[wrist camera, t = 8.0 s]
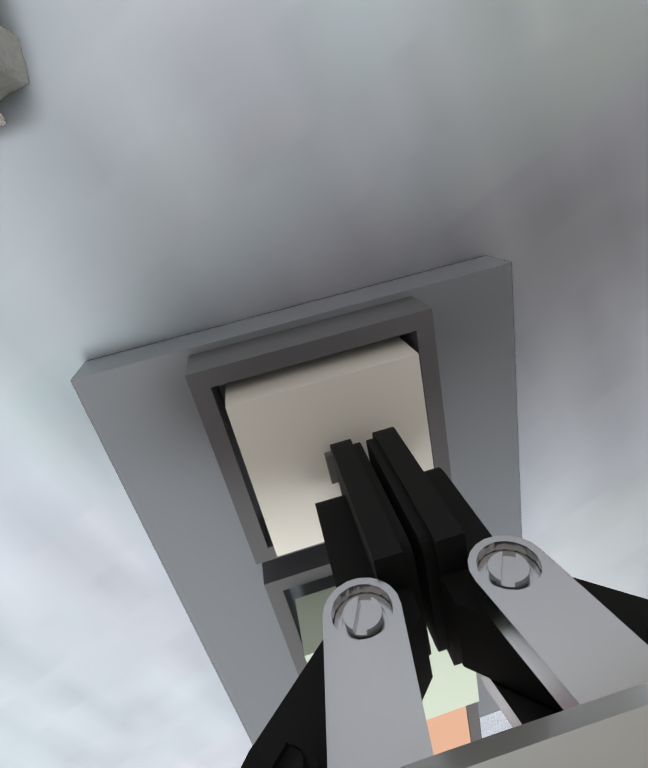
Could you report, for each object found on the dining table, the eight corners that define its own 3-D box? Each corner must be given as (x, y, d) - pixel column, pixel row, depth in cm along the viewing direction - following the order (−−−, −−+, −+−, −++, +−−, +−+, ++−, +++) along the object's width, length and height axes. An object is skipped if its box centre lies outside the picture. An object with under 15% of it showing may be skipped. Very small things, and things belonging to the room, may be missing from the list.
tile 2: (439, 552, 15) (471, 606, 13) (452, 647, 17) (482, 706, 15) (295, 598, 15) (305, 662, 13) (326, 691, 17) (340, 758, 15)
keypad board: (485, 255, 15) (543, 270, 12) (510, 671, 24) (546, 732, 22) (85, 361, 14) (51, 403, 11) (273, 755, 23) (279, 831, 20)
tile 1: (392, 331, 13) (421, 356, 11) (414, 468, 16) (441, 509, 14) (225, 377, 13) (225, 411, 11) (271, 512, 15) (278, 561, 13)
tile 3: (443, 655, 20) (467, 707, 18) (453, 721, 22) (476, 774, 20) (332, 693, 19) (344, 751, 17) (354, 757, 21) (367, 815, 19)
